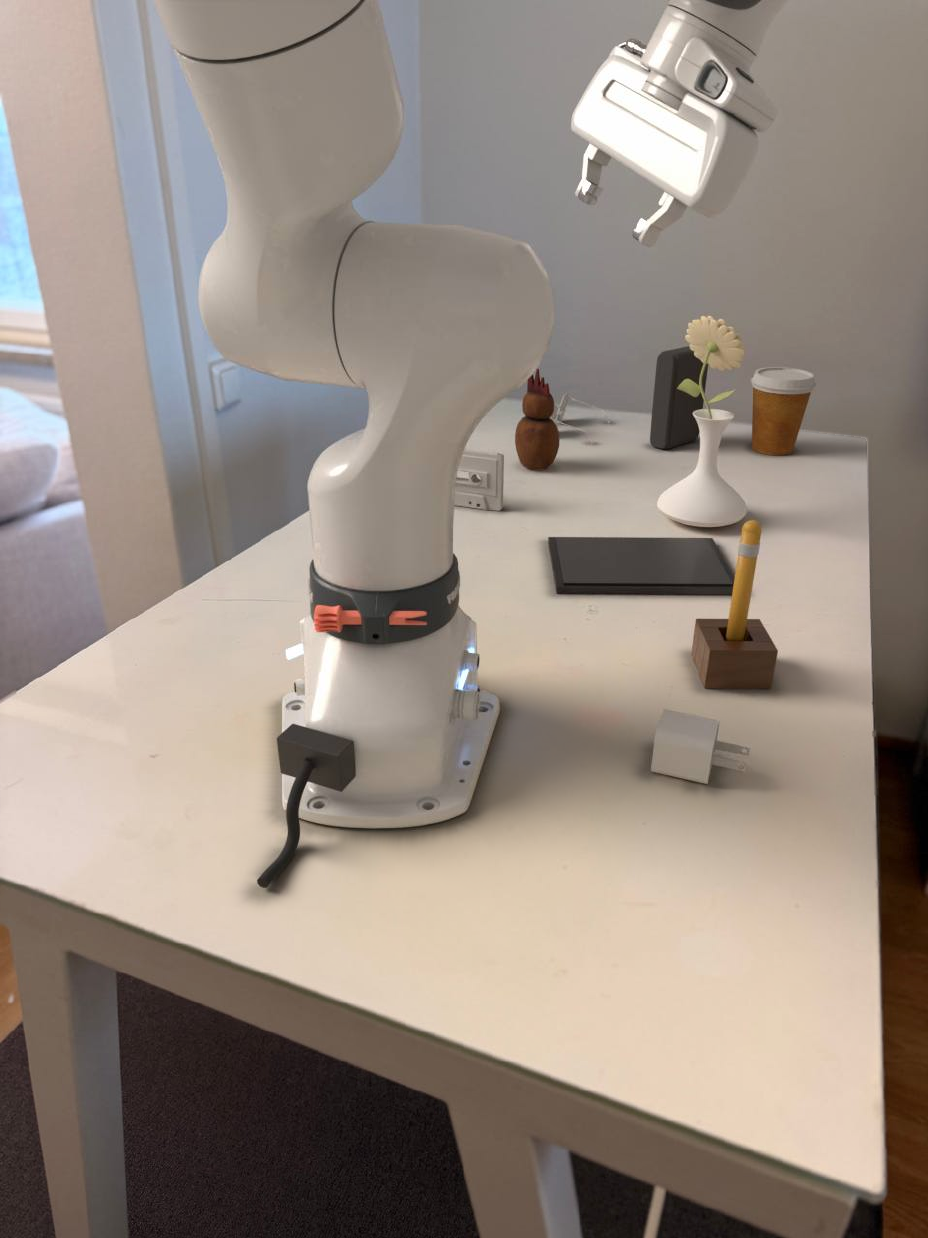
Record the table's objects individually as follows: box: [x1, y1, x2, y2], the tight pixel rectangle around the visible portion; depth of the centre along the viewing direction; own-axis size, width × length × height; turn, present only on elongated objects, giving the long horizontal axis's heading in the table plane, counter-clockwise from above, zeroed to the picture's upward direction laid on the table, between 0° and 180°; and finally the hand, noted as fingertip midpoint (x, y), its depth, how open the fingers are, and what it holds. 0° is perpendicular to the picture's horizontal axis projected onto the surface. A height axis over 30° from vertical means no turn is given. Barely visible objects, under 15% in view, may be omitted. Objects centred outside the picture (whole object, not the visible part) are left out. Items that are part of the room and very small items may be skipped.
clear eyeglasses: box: [550, 392, 611, 444], centre depth 152 cm, size 14×8×5 cm, turn 160°
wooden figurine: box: [514, 368, 561, 471], centre depth 133 cm, size 7×6×15 cm
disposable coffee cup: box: [750, 366, 817, 456], centre depth 141 cm, size 10×10×12 cm
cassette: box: [454, 448, 505, 512], centre depth 121 cm, size 12×2×8 cm, turn 68°
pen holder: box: [690, 618, 779, 690], centre depth 83 cm, size 6×6×4 cm
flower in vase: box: [656, 315, 748, 528], centre depth 113 cm, size 13×11×25 cm
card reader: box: [649, 345, 709, 450], centre depth 143 cm, size 9×4×15 cm, turn 130°
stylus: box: [725, 519, 762, 641], centre depth 81 cm, size 2×2×15 cm
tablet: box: [547, 536, 735, 596], centre depth 104 cm, size 14×20×1 cm
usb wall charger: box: [650, 708, 751, 785], centre depth 70 cm, size 4×7×4 cm, turn 69°
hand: (611, 221), depth 86 cm, fingers open, 8 cm apart
